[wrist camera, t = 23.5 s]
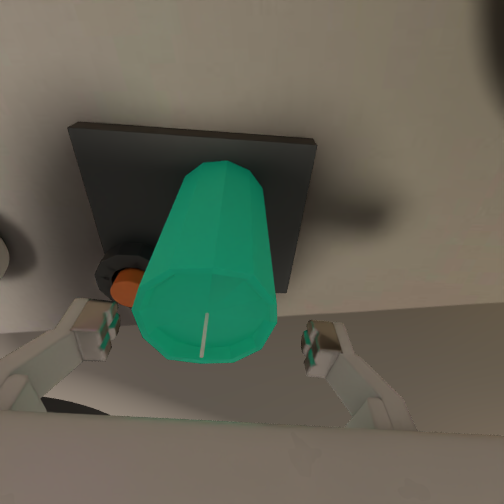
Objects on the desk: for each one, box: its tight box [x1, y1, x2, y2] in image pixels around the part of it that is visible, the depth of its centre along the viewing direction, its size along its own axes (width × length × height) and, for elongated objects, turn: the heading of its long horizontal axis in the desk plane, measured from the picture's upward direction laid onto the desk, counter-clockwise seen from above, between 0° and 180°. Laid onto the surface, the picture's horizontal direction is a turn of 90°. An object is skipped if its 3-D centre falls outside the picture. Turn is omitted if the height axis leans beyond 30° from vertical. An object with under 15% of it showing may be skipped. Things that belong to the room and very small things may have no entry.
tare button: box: [110, 268, 145, 307], centre depth 22 cm, size 3×3×2 cm
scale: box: [67, 122, 317, 308], centre depth 21 cm, size 14×15×3 cm
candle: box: [131, 160, 277, 364], centre depth 15 cm, size 6×6×12 cm
